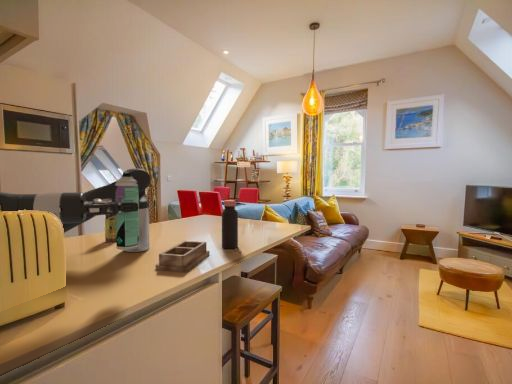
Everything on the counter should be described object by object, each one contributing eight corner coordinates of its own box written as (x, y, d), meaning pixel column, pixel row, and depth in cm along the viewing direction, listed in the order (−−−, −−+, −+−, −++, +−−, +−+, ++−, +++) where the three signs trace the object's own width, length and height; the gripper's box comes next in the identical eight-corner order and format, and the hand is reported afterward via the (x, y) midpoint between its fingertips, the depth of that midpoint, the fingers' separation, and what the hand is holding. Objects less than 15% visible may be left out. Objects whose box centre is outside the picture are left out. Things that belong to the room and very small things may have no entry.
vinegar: (235, 249, 109) (235, 201, 108) (219, 248, 110) (219, 201, 109) (239, 245, 116) (239, 200, 114) (224, 244, 117) (224, 199, 116)
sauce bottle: (109, 243, 118) (108, 199, 117) (102, 241, 121) (100, 198, 120) (123, 240, 124) (122, 198, 122) (116, 238, 127) (115, 197, 126)
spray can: (134, 243, 74) (133, 172, 73) (142, 247, 70) (141, 172, 69) (113, 246, 70) (112, 171, 69) (120, 251, 67) (118, 171, 65)
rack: (155, 269, 86) (155, 254, 86) (183, 252, 104) (183, 240, 104) (186, 272, 84) (186, 256, 83) (209, 254, 102) (209, 241, 102)
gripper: (69, 218, 71) (138, 215, 78) (53, 229, 58) (138, 224, 64) (68, 190, 70) (137, 190, 77) (52, 194, 57) (138, 193, 64)
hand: (137, 205), depth 71 cm, fingers closed on spray can, 5 cm apart
